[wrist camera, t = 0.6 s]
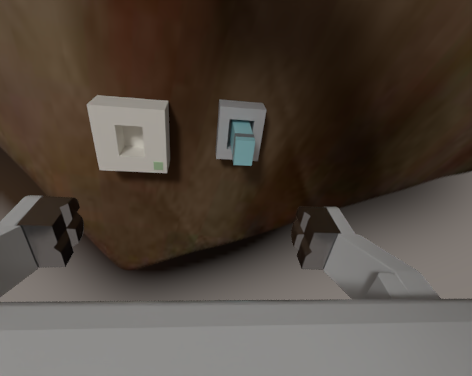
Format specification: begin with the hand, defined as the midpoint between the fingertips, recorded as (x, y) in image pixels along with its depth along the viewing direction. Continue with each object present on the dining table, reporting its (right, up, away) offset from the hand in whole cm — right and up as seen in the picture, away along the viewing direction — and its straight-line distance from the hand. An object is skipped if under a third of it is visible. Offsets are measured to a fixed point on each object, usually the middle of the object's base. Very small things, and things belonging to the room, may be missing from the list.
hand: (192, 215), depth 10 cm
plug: (+2, +12, +42) cm, 44 cm away
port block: (-17, +12, +41) cm, 46 cm away
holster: (+2, +13, +42) cm, 44 cm away
